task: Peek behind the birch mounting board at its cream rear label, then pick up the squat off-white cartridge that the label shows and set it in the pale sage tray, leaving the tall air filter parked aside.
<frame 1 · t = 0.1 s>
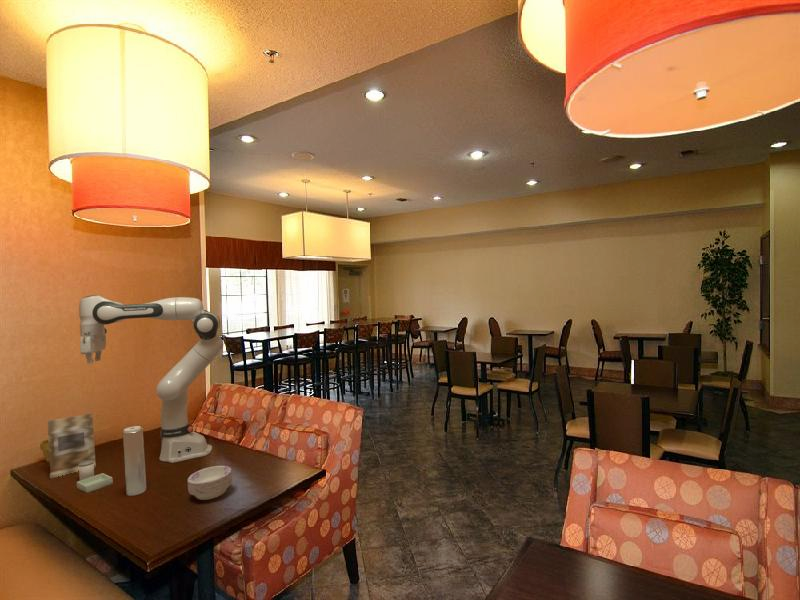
hand: (94, 362, 187), 48 cm above the table, fingers open, 8 cm apart
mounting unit: (73, 469, 187), on the table
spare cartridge: (87, 478, 176), on the table
service tray: (95, 485, 169), on the table
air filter: (136, 492, 161), on the table
paper bowls: (211, 494, 156), on the table
plant pot: (55, 460, 201), on the table
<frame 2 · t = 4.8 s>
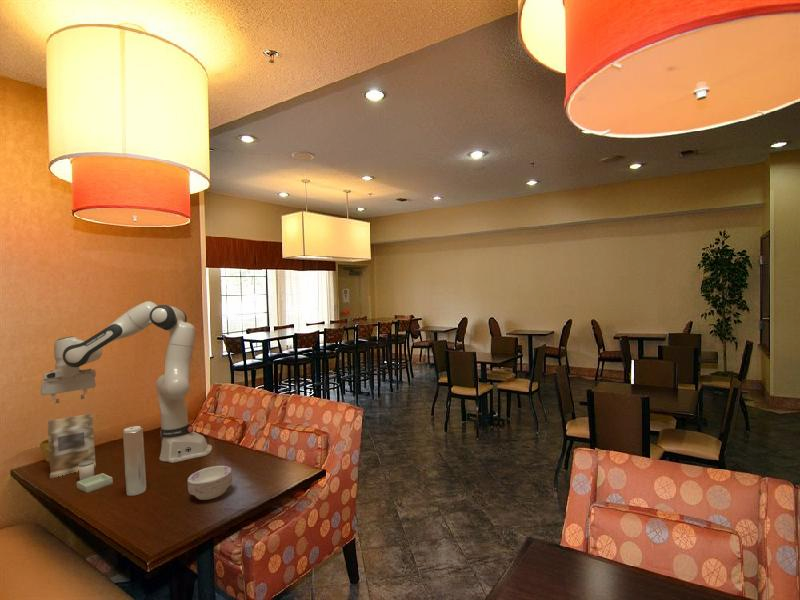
hand: (70, 400, 195), 29 cm above the table, fingers open, 8 cm apart
nothing on the table moved.
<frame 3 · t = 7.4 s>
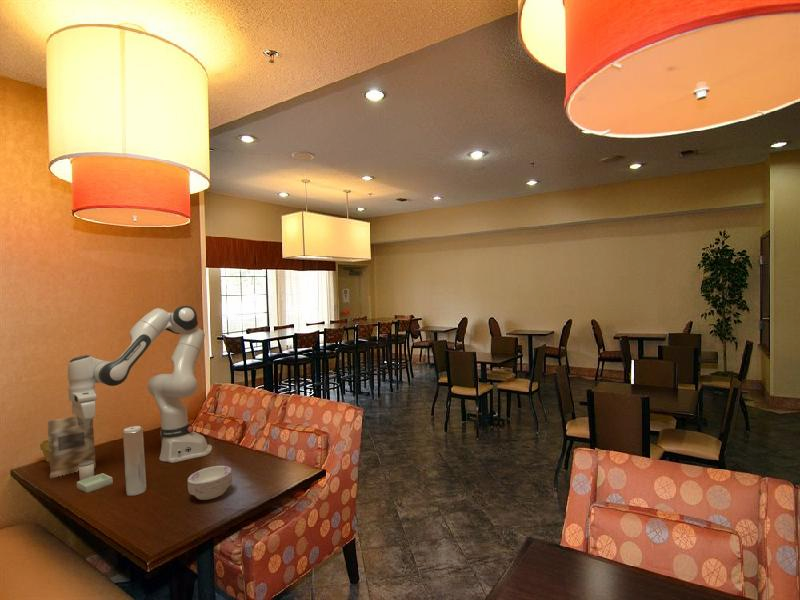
hand: (83, 427, 176), 22 cm above the table, fingers open, 8 cm apart
nothing on the table moved.
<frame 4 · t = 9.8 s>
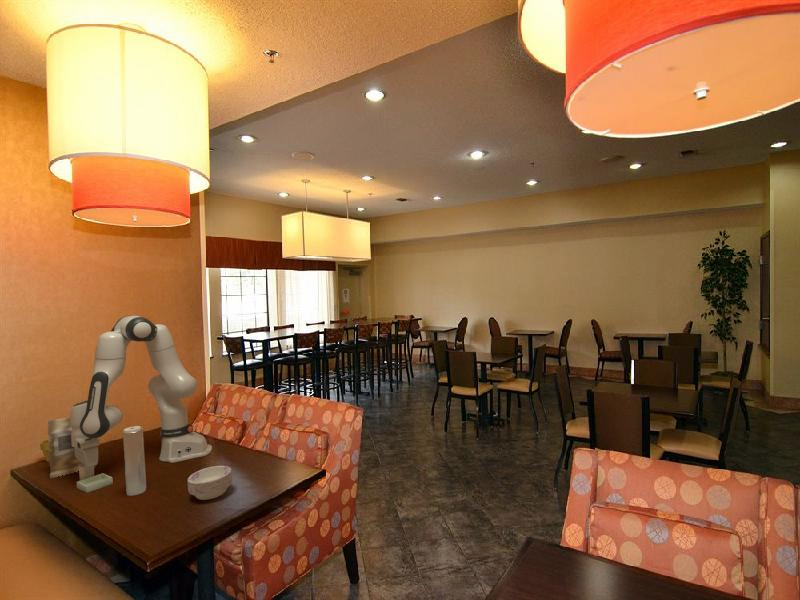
hand: (86, 471, 176), 3 cm above the table, fingers closed on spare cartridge, 5 cm apart
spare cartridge: (87, 478, 176), on the table, touching gripper
everything else where it was.
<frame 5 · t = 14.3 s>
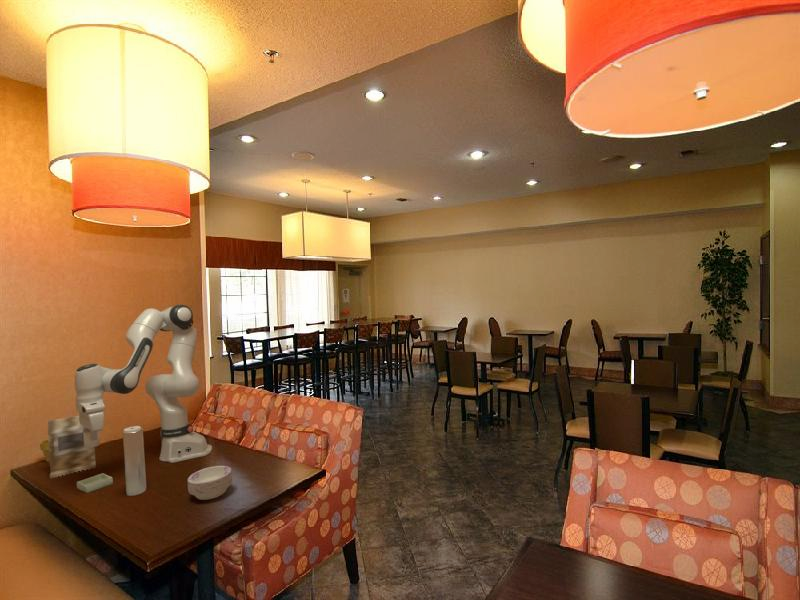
hand: (91, 438, 169), 19 cm above the table, fingers closed on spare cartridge, 5 cm apart
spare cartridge: (91, 445, 169), point 16 cm above the table, touching gripper
everything else where it was.
when the fingers open (5 cm above the table, at t = 18.8 s): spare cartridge drops 1 cm, resting on service tray.
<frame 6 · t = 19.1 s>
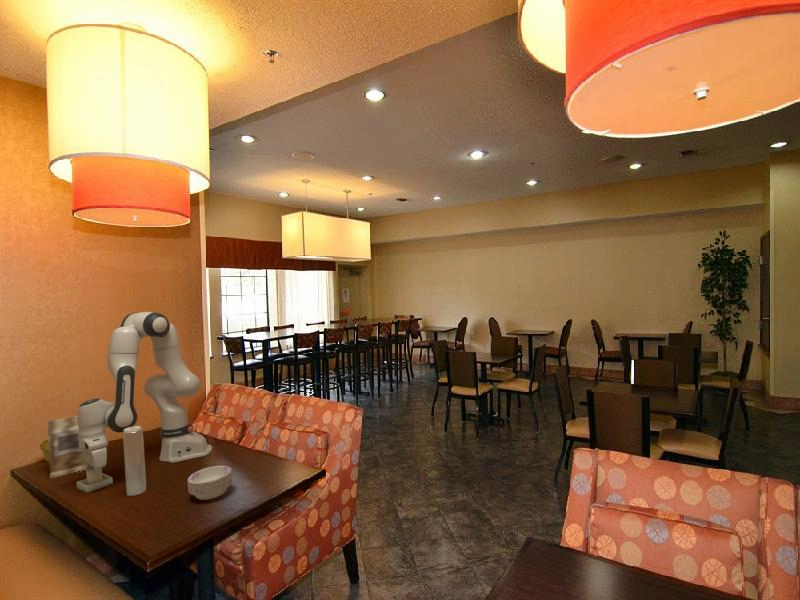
hand: (94, 473, 169), 5 cm above the table, fingers open, 8 cm apart
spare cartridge: (95, 483, 169), point 1 cm above the table, touching service tray
everything else where it was.
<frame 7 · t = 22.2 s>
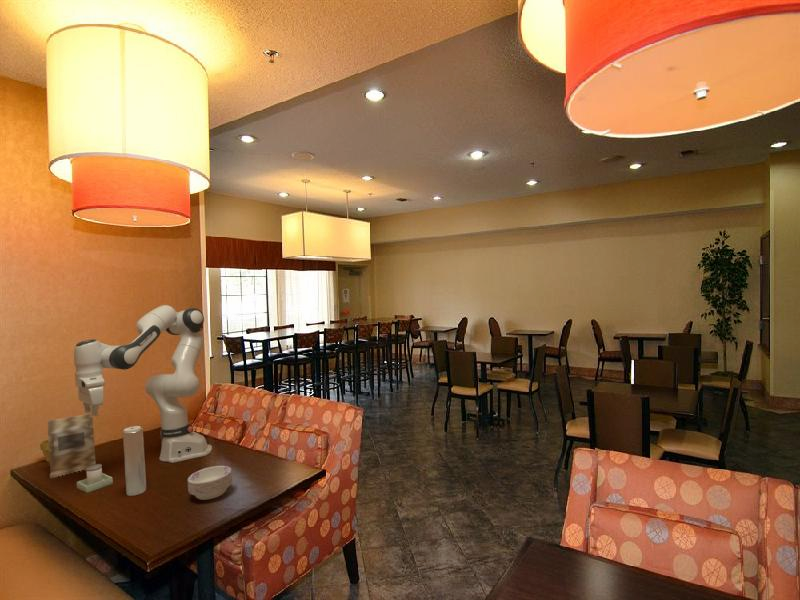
hand: (91, 414, 169), 29 cm above the table, fingers open, 8 cm apart
nothing on the table moved.
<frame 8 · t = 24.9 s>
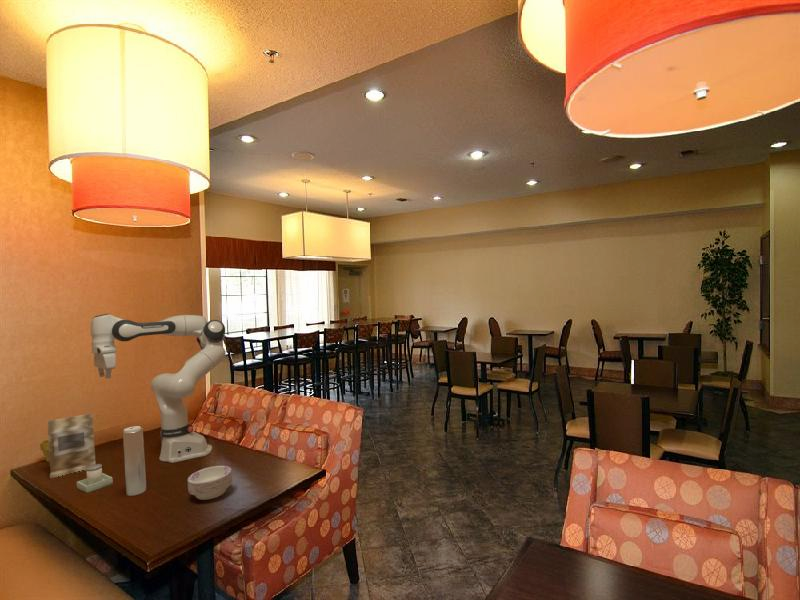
hand: (105, 377, 197), 39 cm above the table, fingers open, 8 cm apart
nothing on the table moved.
at the end: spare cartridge 0.1 cm off-centre on the service tray, point 0.8 cm above the service tray's base; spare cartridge tilted 0°; the gripper is holding nothing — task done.
